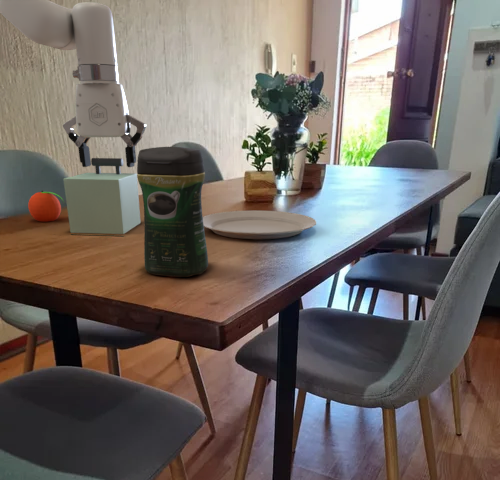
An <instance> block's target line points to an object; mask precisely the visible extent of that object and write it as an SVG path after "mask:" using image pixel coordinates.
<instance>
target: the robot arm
mask: <svg viewBox="0 0 500 480" xmlns="http://www.w3.org/2000/svg"><path fill="white" fill-rule="evenodd" d="M0 14H1V15H2V16H3V17H4V18H5V19H6V20H7V21H8V22H9V23H11V25H12V26H13V27H15V29H17V30H18V31H19V32H20V33H21V34H23V36H25V37H26V38H27V39H29V40H30V41H33V42H34V43H36V44H39V45H41V46H47V47H51V48H53V49H57V50H60V51H61V50H62V51H73V50H76V60H77V67H76V70H72V71H71V72H72V73H71V74H72V77H73V78H75V79H78V81H79V82H80V83H76V84H75V95H74V96H75V97H74V99H75V100H74V101H75V103H74V104H75V105H74V107H75V116H74V117H72V118H71V119H69V120H67V121H66V122H64V123H63V124H62V128H63V130H64V131H65V132H66V134H67V135H68V138H69V139H70V141H71V142H73V143H74V144H75V146H76V147H77V148H78V157H79V162H80V163H81V166H82V168H86V167H90V166H92V164H91V153H90V152H91V151H90V147H89V145H87V143H89V141H90V139H91V138H121V140H122V141H123V142H124V143H125V144H126V146H125V147H124V148H125V149H124V150H125V163H126V167H127V168H133V167H135V164H136V163H137V154H136V146H137V145H138V144H139V142H140V141H141V140H142V139H143V135H144V133H145V130H146V128H147V124H146V123H145V122H143V121H141V120H139V119H137V118H136V117H133V116H132V115H131V114H130V112H129V107H128V102H127V98H126V93H125V90H124V86H123V84H122V83H120V80H119V79H120V78H119V70H118V69H119V68H118V58H117V56H118V55H117V45H116V36H115V25H114V16H113V11H112V9H111V8H110V7H109V6H108V5H107V4H104V3H100V2H95V1H94V2H92V1H83V2H78V3H75V4H74V5H73V7H72V8H71V7H66V6H63V5H61V4H59V3H56V2H54V1H51V0H0ZM131 125H132V126H134V127H135V128H136V131H135V133H134V134H133V135H131ZM75 126H76V131H77V133H76V132H75V130H74V127H75Z"/></svg>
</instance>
